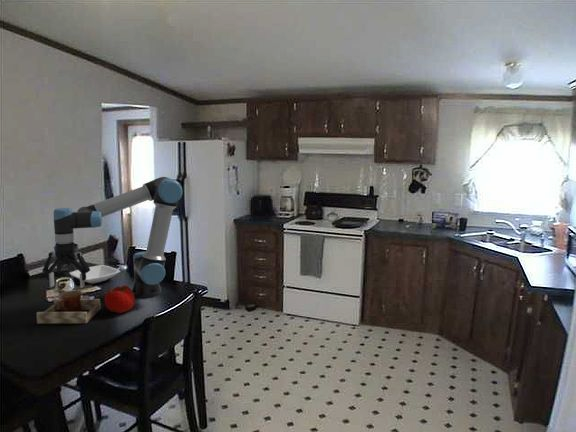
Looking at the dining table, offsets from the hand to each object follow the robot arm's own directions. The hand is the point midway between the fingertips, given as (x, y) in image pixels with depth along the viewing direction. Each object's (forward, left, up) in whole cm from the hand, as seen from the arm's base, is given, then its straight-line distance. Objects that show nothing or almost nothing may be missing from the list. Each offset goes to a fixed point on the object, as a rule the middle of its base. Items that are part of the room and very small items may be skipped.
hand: (67, 286), depth 187 cm
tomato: (-21, -6, -15) cm, 27 cm away
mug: (0, 0, -15) cm, 15 cm away
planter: (+30, -63, -15) cm, 71 cm away
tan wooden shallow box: (0, 0, -14) cm, 14 cm away
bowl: (+8, -49, -15) cm, 52 cm away
